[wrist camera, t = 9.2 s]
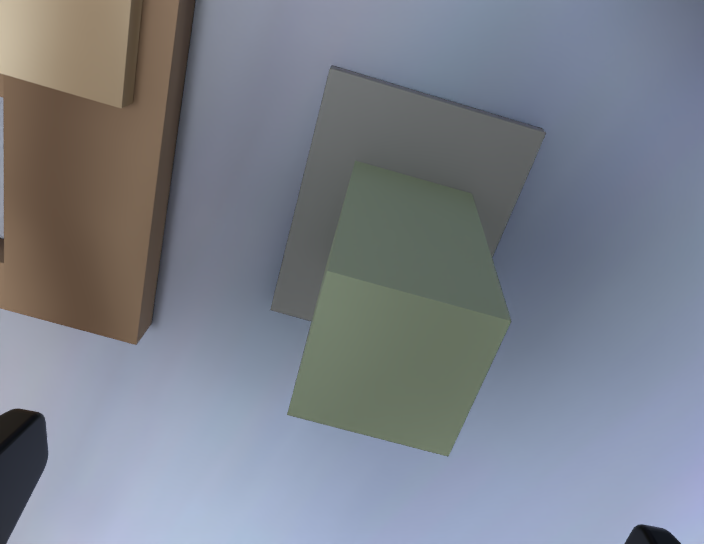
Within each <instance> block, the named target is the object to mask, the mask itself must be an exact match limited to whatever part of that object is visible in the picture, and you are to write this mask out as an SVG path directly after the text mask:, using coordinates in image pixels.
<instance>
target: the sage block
mask: <svg viewBox="0 0 704 544" xmlns="http://www.w3.org/2000/svg"><path fill="white" fill-rule="evenodd" d="M510 323H511V318H510V315H509V312H508V309H507V305H506V302H505V299H504V296H503V292H502V289H501V286H500V283H499V279H498V276H497V273H496V270H495V267H494V263H493V260H492V257H491V254H490V250H489V247H488V244H487V241H486V237H485V234H484V231H483V228H482V224H481V221H480V218H479V215H478V211H477V208H476V205H475V202H474V199H473V195H472V193H468V192H465V191H461V190H457V189H454V188H450V187H447V186H443V185H440V184H436V183H433V182H429V181H426V180H422V179H419V178H415V177H412V176H408V175H404V174H401V173H397V172H394V171H390V170H387V169H383V168H380V167H376V166H373V165H369V164H366V163H362V162H359V161H355V163H354V167H353V170H352V174H351V177H350V181H349V185H348V188H347V192H346V196H345V199H344V203H343V206H342V210H341V214H340V217H339V221H338V225H337V228H336V232H335V235H334V239H333V243H332V246H331V250H330V254H329V257H328V261H327V264H326V268H325V272H324V276H323V280H322V283H321V287H320V291H319V295H318V299H317V303H316V306H315V310H314V314H313V318H312V322H311V326H310V329H309V333H308V337H307V341H306V345H305V348H304V352H303V356H302V360H301V364H300V368H299V371H298V375H297V379H296V383H295V387H294V391H293V394H292V398H291V402H290V406H289V410H288V413H287V415H290V416H293V417H297V418H301V419H305V420H309V421H313V422H317V423H320V424H324V425H328V426H332V427H336V428H340V429H344V430H348V431H351V432H355V433H359V434H363V435H367V436H371V437H375V438H378V439H382V440H386V441H390V442H394V443H398V444H402V445H405V446H409V447H413V448H417V449H421V450H425V451H429V452H432V453H436V454H440V455H444V456H449V454H450V452H451V450H452V448H453V445H454V443H455V441H456V439H457V437H458V435H459V433H460V430H461V428H462V426H463V424H464V422H465V420H466V417H467V415H468V413H469V411H470V409H471V407H472V405H473V402H474V400H475V398H476V396H477V394H478V392H479V390H480V387H481V385H482V383H483V381H484V379H485V377H486V375H487V372H488V370H489V368H490V366H491V364H492V362H493V360H494V357H495V355H496V353H497V351H498V349H499V347H500V345H501V342H502V340H503V338H504V336H505V334H506V332H507V329H508V327H509V325H510Z"/></svg>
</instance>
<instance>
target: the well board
mask: <svg viewBox="0 0 704 544" xmlns="http://www.w3.org/2000/svg"><path fill="white" fill-rule="evenodd" d="M194 7H195V0H143V2H142V12H141V22H140V32H139V43H138V53H137V63H136V73H135V84H134V94H133V103H132V104H130V105H128V106H126V107H124V108H122V109H121V108H118V107H115V106H111V105H108V104H104V103H101V102H97V101H94V100H90V99H87V98H84V97H80V96H77V95H73V94H70V93H66V92H63V91H59V90H56V89H53V88H49V87H46V86H42V85H39V84H35V83H32V82H28V81H25V80H22V79H18V78H15V77H11V76H8V75H4V74H1V73H0V97H3V98H4V239H1V238H0V308H1V309H5V310H8V311H12V312H16V313H20V314H23V315H27V316H31V317H34V318H38V319H42V320H46V321H49V322H53V323H57V324H61V325H64V326H68V327H72V328H75V329H79V330H83V331H87V332H90V333H94V334H98V335H101V336H105V337H109V338H113V339H116V340H120V341H124V342H127V343H131V344H135V345H137V343H138V342H139V340H140V339H141V338H142V336H143V335H144V333H145V332H146V331H147V329H148V328H149V326H150V325H151V323H152V315H153V308H154V301H155V293H156V286H157V279H158V271H159V264H160V257H161V249H162V242H163V235H164V227H165V220H166V213H167V205H168V198H169V191H170V183H171V176H172V169H173V161H174V154H175V147H176V139H177V132H178V124H179V117H180V110H181V102H182V95H183V88H184V80H185V73H186V66H187V58H188V51H189V44H190V36H191V29H192V22H193V14H194Z"/></svg>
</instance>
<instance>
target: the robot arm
mask: <svg viewBox="0 0 704 544" xmlns="http://www.w3.org/2000/svg"><path fill="white" fill-rule="evenodd" d="M47 459H48V443H47V432H46V421H45V417H44V416H43V414H41V413H39V412H35V411H29V410H24V409H12V410H10V411H8V412H6V413H4V414H2V415H0V544H6V543H7V541H8V539H9V537H10V535H11V533H12V532H13V530H14V528H15V526H16V524H17V522H18V520H19V518H20V516H21V514H22V512H23V510H24V508H25V506H26V504H27V502H28V500H29V498H30V496H31V494H32V492H33V490H34V488H35V486H36V484H37V483H38V481H39V479H40V477H41V475H42V473H43V471H44V469H45V466H46V463H47ZM625 544H681V543H680V542H679V541H678V540H677V539H676V538H675V537H674V536H673V535H672V534H671V533H670V532H669V531H667V530H666V529H663V528H659V527H654V526H648V525H643V524H641V525H637V526H636V527H634V528H633V530H632V532H631V533H630V535H629V537H628V539H627V540H626V542H625Z"/></svg>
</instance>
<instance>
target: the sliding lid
mask: <svg viewBox="0 0 704 544" xmlns="http://www.w3.org/2000/svg"><path fill="white" fill-rule="evenodd" d="M142 2H143V0H0V73H1V74H4V75H8V76H11V77H15V78H18V79H22V80H25V81H28V82H32V83H35V84H39V85H42V86H46V87H49V88H53V89H56V90H59V91H63V92H66V93H70V94H73V95H77V96H80V97H84V98H87V99H90V100H94V101H97V102H101V103H104V104H108V105H111V106H115V107H118V108H121V109H122V108H124V107H126V106H128V105H130V104H132V103H133V94H134V84H135V73H136V63H137V53H138V43H139V32H140V22H141V12H142Z"/></svg>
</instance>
